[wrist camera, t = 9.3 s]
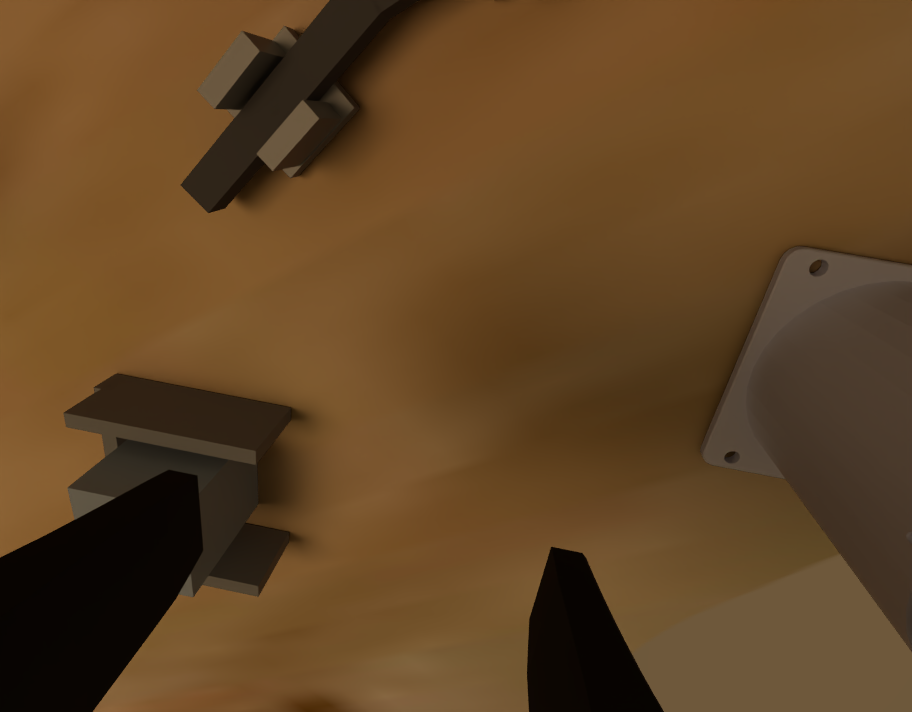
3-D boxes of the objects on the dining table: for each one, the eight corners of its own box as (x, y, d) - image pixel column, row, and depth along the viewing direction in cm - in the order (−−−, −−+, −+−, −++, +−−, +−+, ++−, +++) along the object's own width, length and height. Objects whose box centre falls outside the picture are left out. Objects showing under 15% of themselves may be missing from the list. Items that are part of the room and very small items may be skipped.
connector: (256, 428, 21) (172, 524, 16) (258, 503, 23) (183, 611, 18) (163, 410, 22) (52, 499, 17) (172, 486, 23) (74, 588, 18)
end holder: (290, 407, 21) (255, 451, 18) (288, 542, 24) (258, 596, 21) (116, 373, 21) (55, 411, 18) (136, 510, 24) (86, 560, 21)
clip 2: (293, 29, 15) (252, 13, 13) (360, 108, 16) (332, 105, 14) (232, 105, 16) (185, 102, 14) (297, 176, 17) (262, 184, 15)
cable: (671, -299, 11) (684, -337, 10) (712, -192, 12) (728, -218, 11) (176, 152, 16) (155, 154, 16) (222, 210, 17) (205, 215, 16)
